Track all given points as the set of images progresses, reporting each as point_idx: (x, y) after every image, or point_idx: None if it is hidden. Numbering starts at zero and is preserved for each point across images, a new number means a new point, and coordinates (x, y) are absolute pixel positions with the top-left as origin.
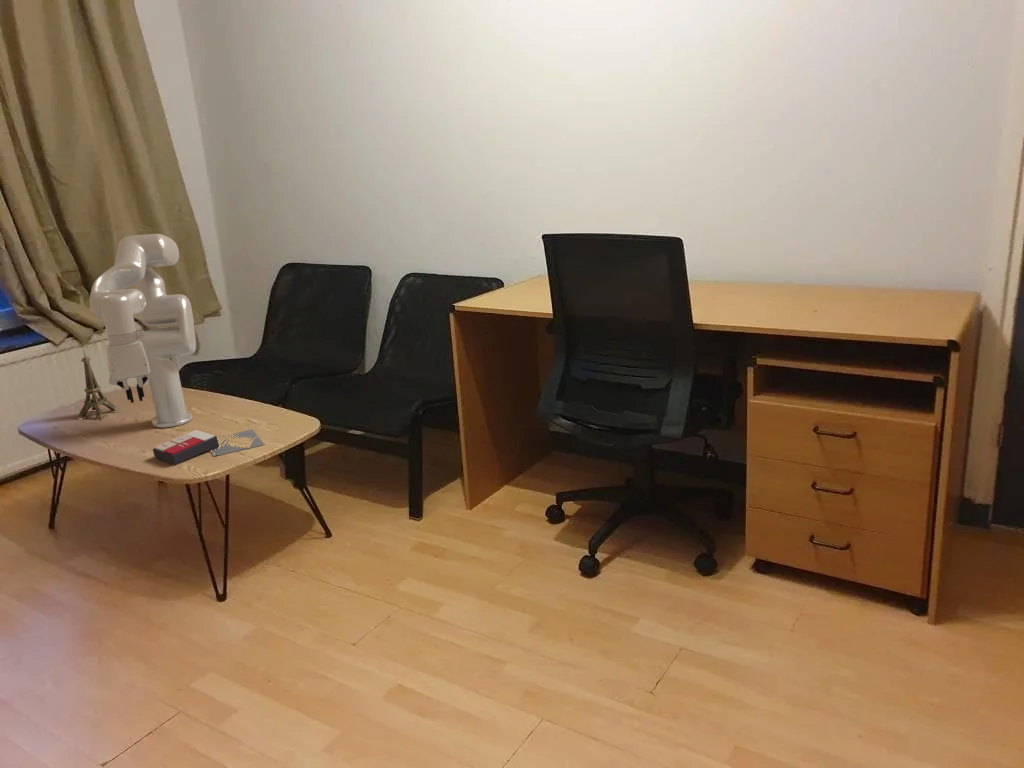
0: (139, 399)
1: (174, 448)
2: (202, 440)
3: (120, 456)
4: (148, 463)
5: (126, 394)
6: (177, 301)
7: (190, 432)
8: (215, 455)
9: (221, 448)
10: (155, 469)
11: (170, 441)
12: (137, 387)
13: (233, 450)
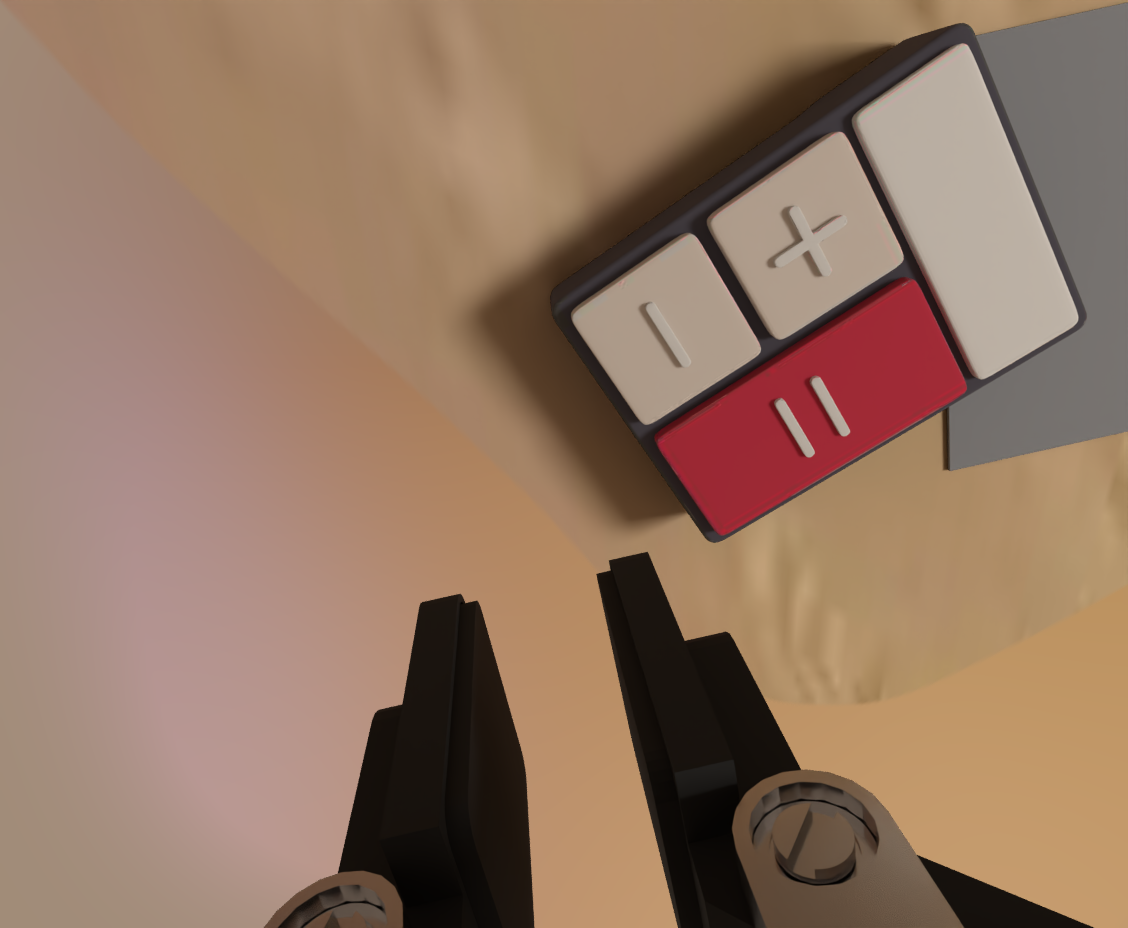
0: (620, 685)
1: (740, 451)
2: (966, 362)
3: (229, 89)
4: (510, 389)
5: (363, 781)
6: None
7: (906, 91)
8: (966, 458)
9: None
10: (572, 528)
11: (704, 206)
12: (695, 911)
13: (1091, 415)
